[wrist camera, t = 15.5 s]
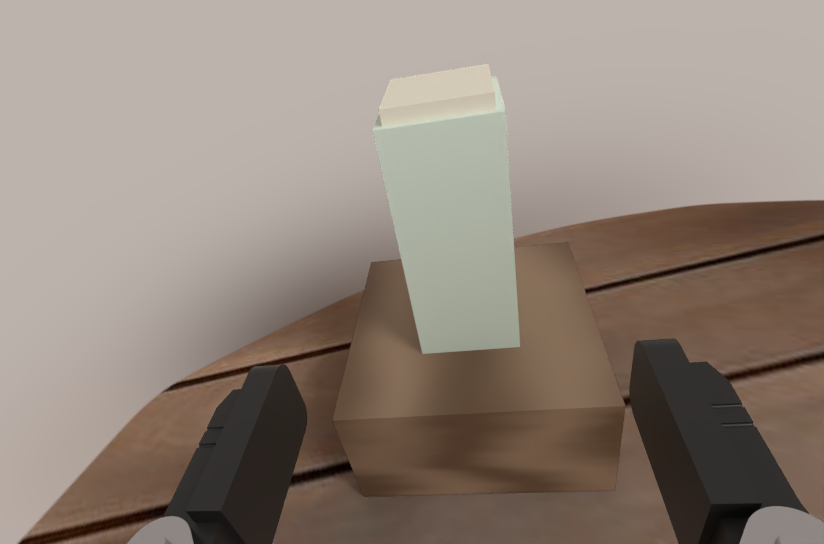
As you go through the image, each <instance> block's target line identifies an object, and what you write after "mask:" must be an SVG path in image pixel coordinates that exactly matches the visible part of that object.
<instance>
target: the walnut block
mask: <svg viewBox="0 0 824 544" xmlns="http://www.w3.org/2000/svg"><path fill="white" fill-rule="evenodd" d="M514 254H515V270H516V286H517V303H518V319H519V335H520V347H513V348H499V349H485V350H471V351H457V352H443V353H429V354H422V350H421V345H420V341H419V336H418V332H417V327H416V323H415V319H414V314H413V310H412V305H411V301H410V296H409V292H408V287H407V283H406V278H405V274H404V269H403V265H402V260H401V259H399V260H390V261H380V262H371V266H370V270H369V274H368V278H367V282H366V286H365V290H364V294H363V298H362V302H361V306H360V310H359V314H358V318H357V322H356V326H355V330H354V334H353V338H352V342H351V346H350V350H349V354H348V358H347V362H346V366H345V371H344V375H343V379H342V383H341V387H340V391H339V395H338V399H337V403H336V407H335V411H334V415H333V419H332V422H333V424H334V426H335V429H336V431H337V434H338V436H339V438H340V441H341V443H342V446H343V448H344V450H345V453H346V455H347V458H348V460H349V462H350V465H351V467H352V470H353V472H354V474H355V477H356V479H357V482H358V484H359V486H360V489H361V491H362V494H363V496H403V495H444V494H485V493H526V492H568V491H609V490H615V488H616V479H617V471H618V463H619V455H620V446H621V438H622V430H623V421H624V413H625V403H624V400H623V398H622V395H621V392H620V389H619V386H618V383H617V380H616V378H615V375H614V372H613V369H612V366H611V363H610V360H609V358H608V355H607V352H606V349H605V346H604V343H603V340H602V338H601V335H600V332H599V329H598V326H597V323H596V320H595V318H594V315H593V312H592V309H591V306H590V303H589V300H588V298H587V295H586V292H585V289H584V286H583V283H582V280H581V278H580V275H579V272H578V269H577V266H576V263H575V260H574V258H573V255H572V252H571V249H570V246H569V243H568V242H564V243H554V244H545V245H535V246H525V247H516V248H514Z"/></svg>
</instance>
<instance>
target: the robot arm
mask: <svg viewBox="0 0 824 544" xmlns="http://www.w3.org/2000/svg"><path fill="white" fill-rule="evenodd" d="M630 402H631V407H632V412H633V415H634V418H635V421H636V424H637V427H638V430H639V432H640V435H641V438H642V441H643V444H644V447H645V449H646V452H647V455H648V458H649V461H650V463H651V466H652V469H653V472H654V475H655V478H656V480H657V483H658V486H659V489H660V492H661V495H662V497H663V500H664V503H665V506H666V509H667V512H668V514H669V517H670V520H671V523H672V526H673V529H674V531H675V534H676V537H677V540H678V543H679V544H824V523H823V522H822V521H820V520H819V519H817V518H815V517H813V516H812V515H810V514H809V513H808V511H807V510H806V509H805V508H804V507H803V505H802V504H801V502H800V501H799V499H798V498H797V496H796V495H795V493H794V491H793V489H792V488H791V486H790V484H789V483H788V481H787V479H786V477H785V476H784V474H783V472H782V471H781V469H780V467H779V466H778V464H777V462H776V460H775V459H774V457H773V455H772V454H771V452H770V450H769V448H768V447H767V445H766V443H765V442H764V440H763V438H762V436H761V435H760V433H759V431H758V430H757V428H756V427H754V426H753V421H752V419H751V418H750V416H749V414H748V413H747V411H746V409H745V408H743V407H742V402H741V401H740V399H739V397H738V395H737V394H736V392H735V390H734V389H733V387H732V385H731V383H730V382H729V380H728V379H726V378H725V377H724V376H723V375H722V374H720V373H719V372H718V371H717V370H716V369H715V368H713V367H712V366H711V365H710V364H709V363H707V362H694V363H689V361H688V359H687V357H686V355H685V353H684V351H683V349H682V348H681V346H680V344H679V342H678V341H677V340H676V339H674V338H673V339H658V340H644V341H637V342H636V343H635V347H634V355H633V363H632V372H631V380H630ZM306 425H307V411H306V406H305V403H304V401H303V399H302V397H301V394H300V392H299V390H298V388H297V386H296V384H295V381H294V379H293V377H292V375H291V373H290V371H289V369H288V367H287V366H286V365H270V366H256V367H253V368H252V369H251V370H250V371H249V373H248V375H247V378H246V380H245V382H244V384H243V386H242V388H241V389H238V390H233V391H232V392H231V393H230V394H229V395H228V396H227V397H226V398H225V399H224V400H223V402H222V403H221V404H220V405H219V406H218V407H217V408H216V410H215V412H214V415H213V417H212V419H211V421H210V423H209V425H208V427H207V431H206V432H205V433H204V435H203V437H202V439H201V441H200V443H199V448H197V449H196V451H195V453H194V455H193V457H192V459H191V461H190V463H189V466H188V468H187V470H186V472H185V474H184V476H183V478H182V480H181V482H180V484H179V486H178V488H177V490H176V492H175V494H174V496H173V498H172V500H171V502H170V504H169V506H168V508H167V510H166V512H165V514H164V515H163V517H162V518H160V519H157V520H155V521H153V522H151V523H149V524H148V525H146V526H145V527H143V528H142V529H141V530H140V531H138V532H137V533H136V534H135V535H134V536H133V537H132V538H131V539H130V541H129V542H128V543H127V544H272V542H273V539H274V535H275V532H276V528H277V525H278V522H279V518H280V515H281V512H282V508H283V505H284V501H285V498H286V495H287V491H288V488H289V485H290V481H291V478H292V474H293V471H294V468H295V464H296V461H297V458H298V454H299V451H300V447H301V444H302V441H303V437H304V434H305V430H306Z"/></svg>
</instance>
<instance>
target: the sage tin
mask: <svg viewBox="0 0 824 544" xmlns="http://www.w3.org/2000/svg"><path fill="white" fill-rule="evenodd" d="M373 135H374V139H375V143H376V148H377V152H378V157H379V161H380V166H381V170H382V174H383V179H384V184H385V188H386V193H387V197H388V202H389V206H390V211H391V215H392V220H393V224H394V228H395V233H396V238H397V242H398V247H399V251H400V256H401V260H402V265H403V269H404V274H405V278H406V283H407V287H408V292H409V296H410V301H411V305H412V310H413V314H414V319H415V323H416V327H417V332H418V336H419V341H420V345H421V350H422V354H429V353H443V352H457V351H471V350H485V349H499V348H513V347H520V335H519V319H518V303H517V286H516V270H515V254H514V237H513V221H512V206H511V189H510V172H509V156H508V140H507V124H506V110H505V107H504V103H503V99H502V96H501V92H500V88H499V85H498V81H497V77H496V76H493V77H491V74H490V69H489V65H488V64H483V65H476V66H471V67H464V68H458V69H452V70H447V71H440V72H434V73H428V74H422V75H416V76H409V77H403V78H397V79H392V80H390V83H389V85H388V88H387V90H386V93H385V95H384V98H383V100H382V102H381V105H380V107H379V116H378V119H377V121H376V124H375V126H374V129H373Z"/></svg>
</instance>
